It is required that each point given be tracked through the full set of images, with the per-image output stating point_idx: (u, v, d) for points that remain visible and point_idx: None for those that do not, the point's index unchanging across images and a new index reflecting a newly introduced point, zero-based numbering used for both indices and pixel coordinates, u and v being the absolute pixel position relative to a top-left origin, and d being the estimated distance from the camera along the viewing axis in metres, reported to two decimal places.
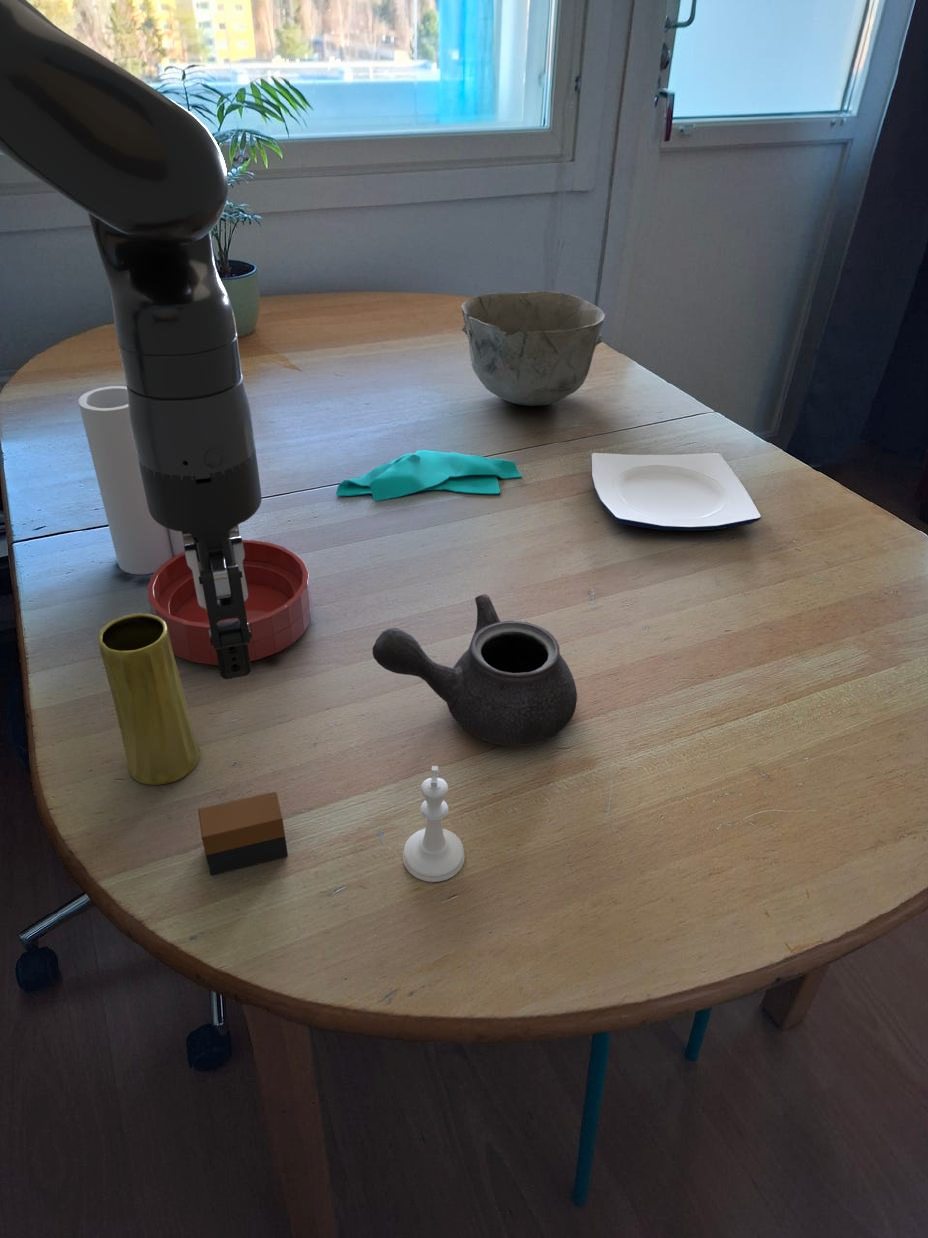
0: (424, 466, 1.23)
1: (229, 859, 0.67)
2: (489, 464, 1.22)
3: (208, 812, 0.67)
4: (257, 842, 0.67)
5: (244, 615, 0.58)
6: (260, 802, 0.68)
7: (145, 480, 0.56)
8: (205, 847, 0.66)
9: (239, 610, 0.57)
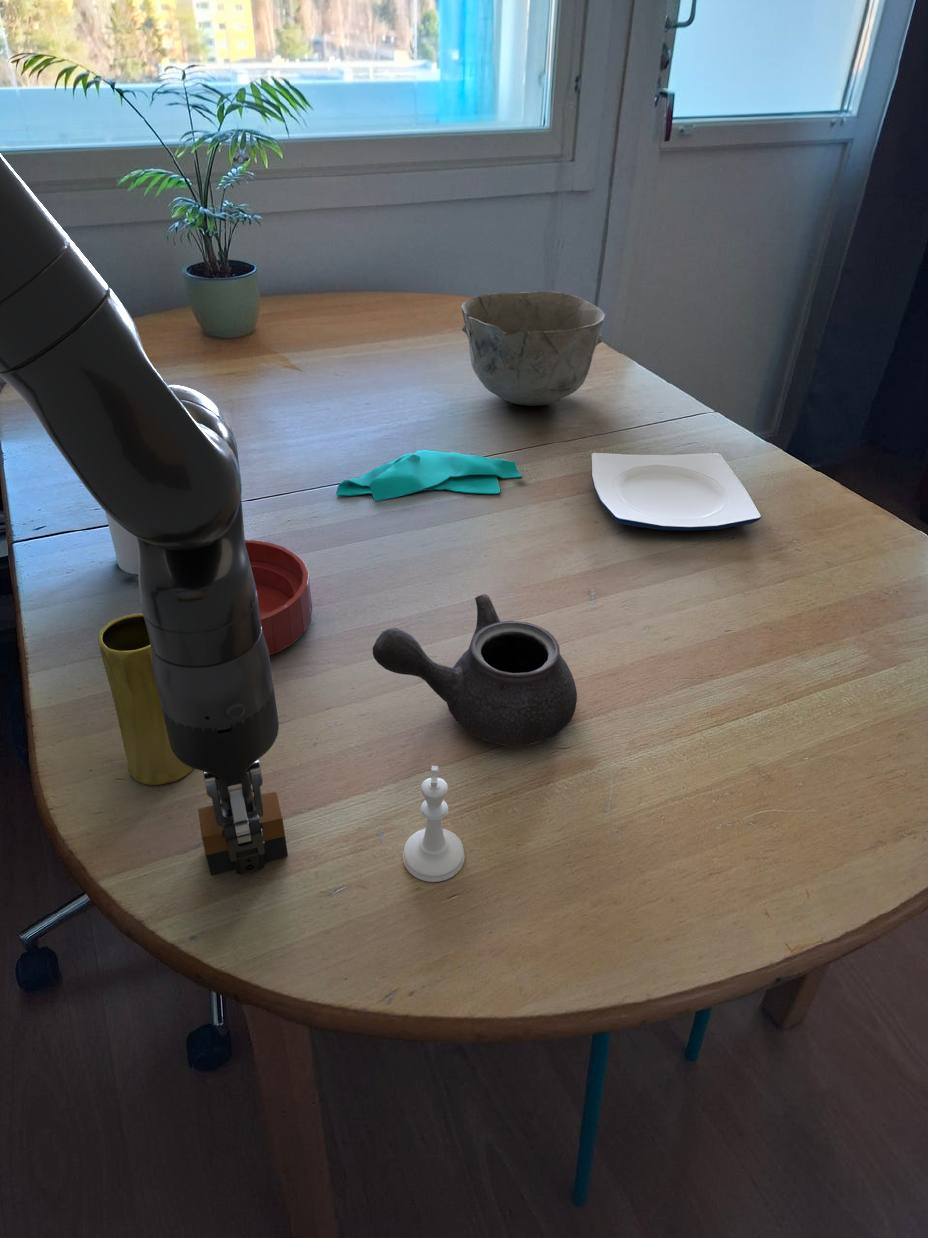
0: (424, 466, 1.23)
1: (229, 859, 0.67)
2: (489, 464, 1.22)
3: (208, 812, 0.67)
4: None
5: (261, 846, 0.62)
6: None
7: (167, 725, 0.58)
8: (205, 847, 0.66)
9: (257, 845, 0.61)
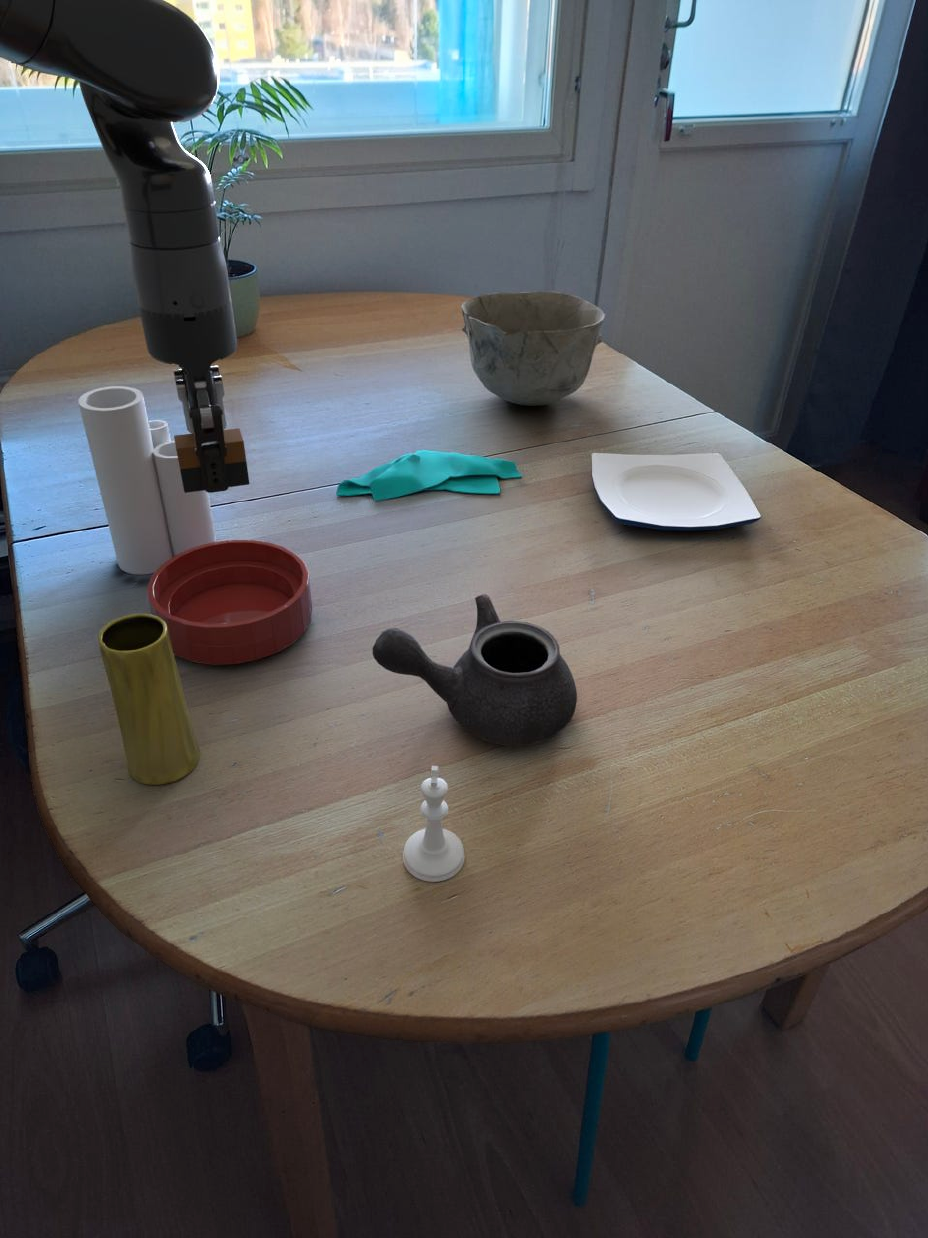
0: (424, 466, 1.23)
1: (200, 477, 0.81)
2: (489, 464, 1.22)
3: (182, 437, 0.81)
4: None
5: (223, 439, 0.75)
6: (225, 433, 0.81)
7: (144, 321, 0.72)
8: (179, 460, 0.79)
9: (219, 436, 0.75)
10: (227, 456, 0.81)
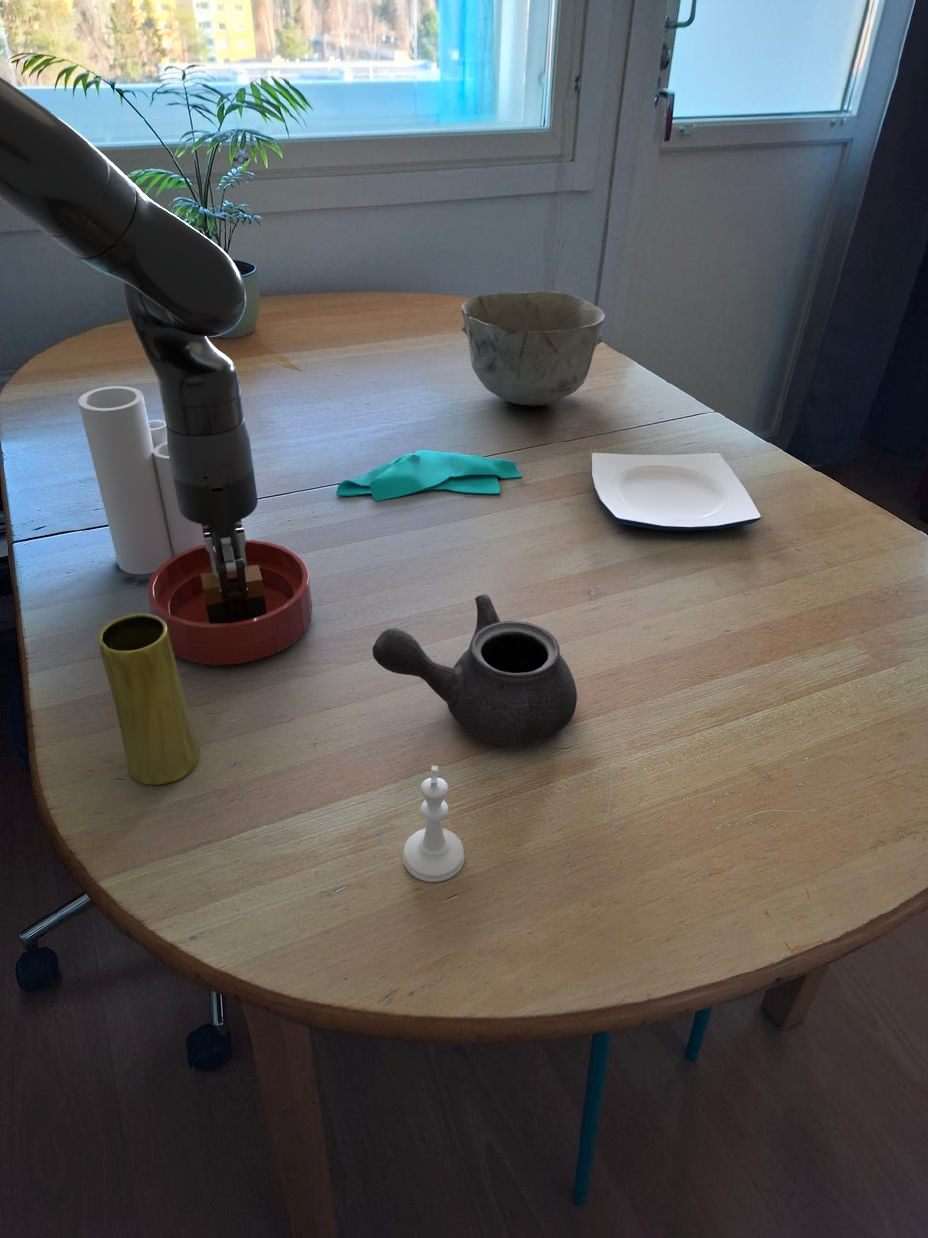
0: (424, 466, 1.23)
1: (223, 611, 0.91)
2: (489, 464, 1.22)
3: (208, 575, 0.91)
4: None
5: (245, 586, 0.86)
6: None
7: (177, 489, 0.82)
8: (205, 598, 0.90)
9: (242, 584, 0.85)
10: None
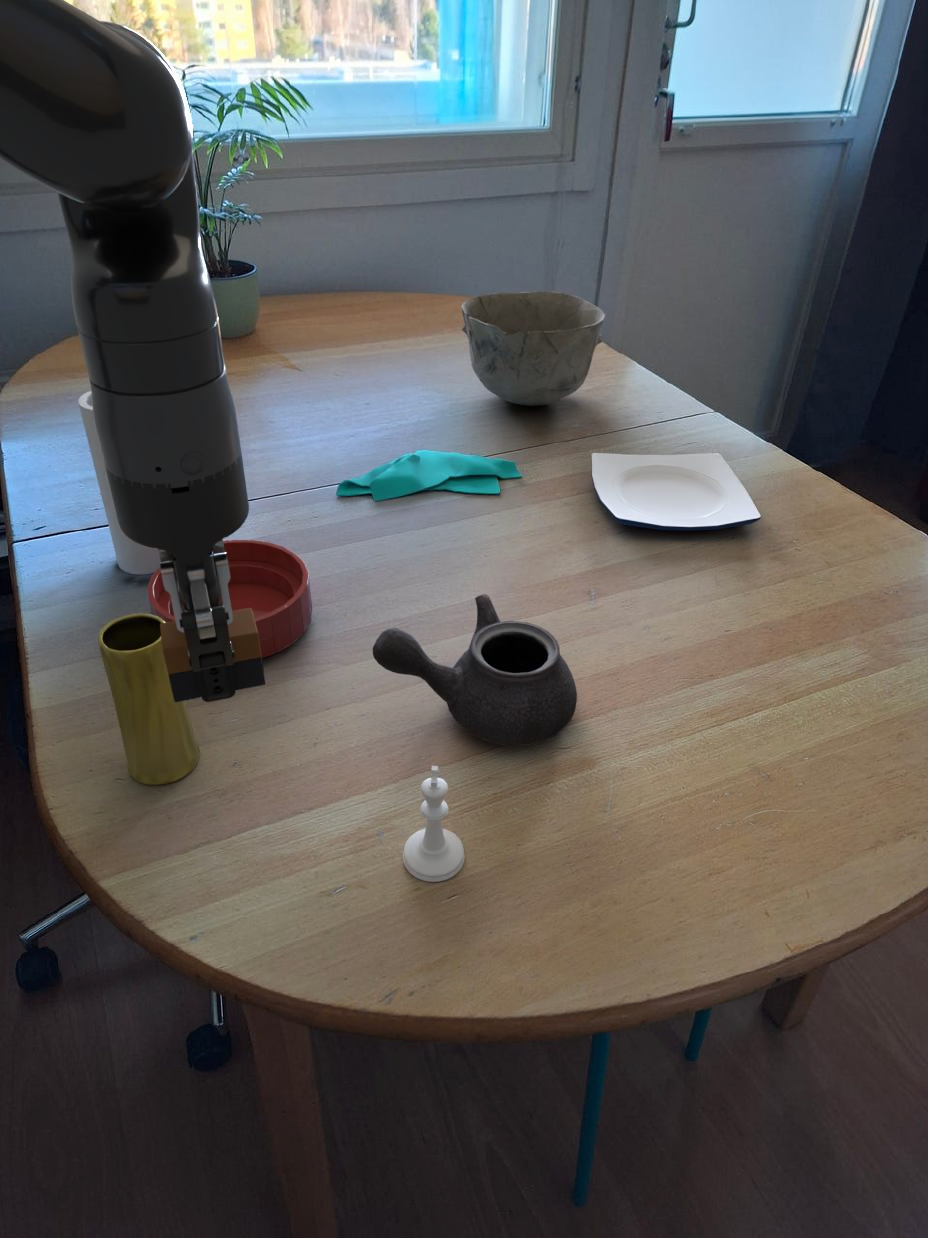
0: (424, 466, 1.23)
1: (196, 682, 0.58)
2: (489, 464, 1.22)
3: (171, 626, 0.57)
4: None
5: (229, 648, 0.52)
6: None
7: (113, 489, 0.48)
8: (167, 663, 0.56)
9: (224, 645, 0.52)
10: (235, 653, 0.57)
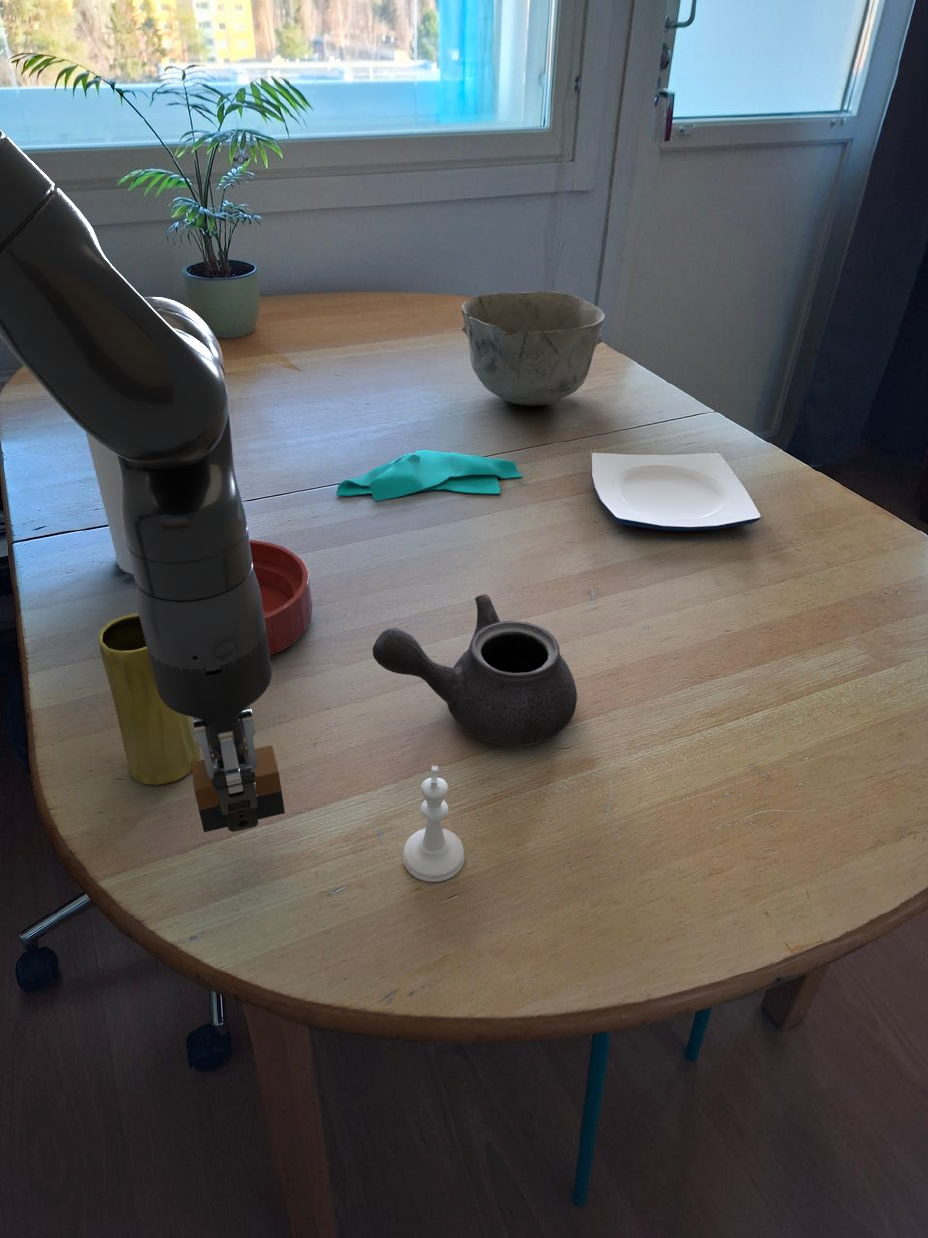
0: (424, 466, 1.23)
1: (223, 815, 0.64)
2: (489, 464, 1.22)
3: (201, 766, 0.64)
4: None
5: (254, 797, 0.59)
6: None
7: (154, 667, 0.55)
8: (198, 801, 0.63)
9: (250, 796, 0.58)
10: (258, 790, 0.64)
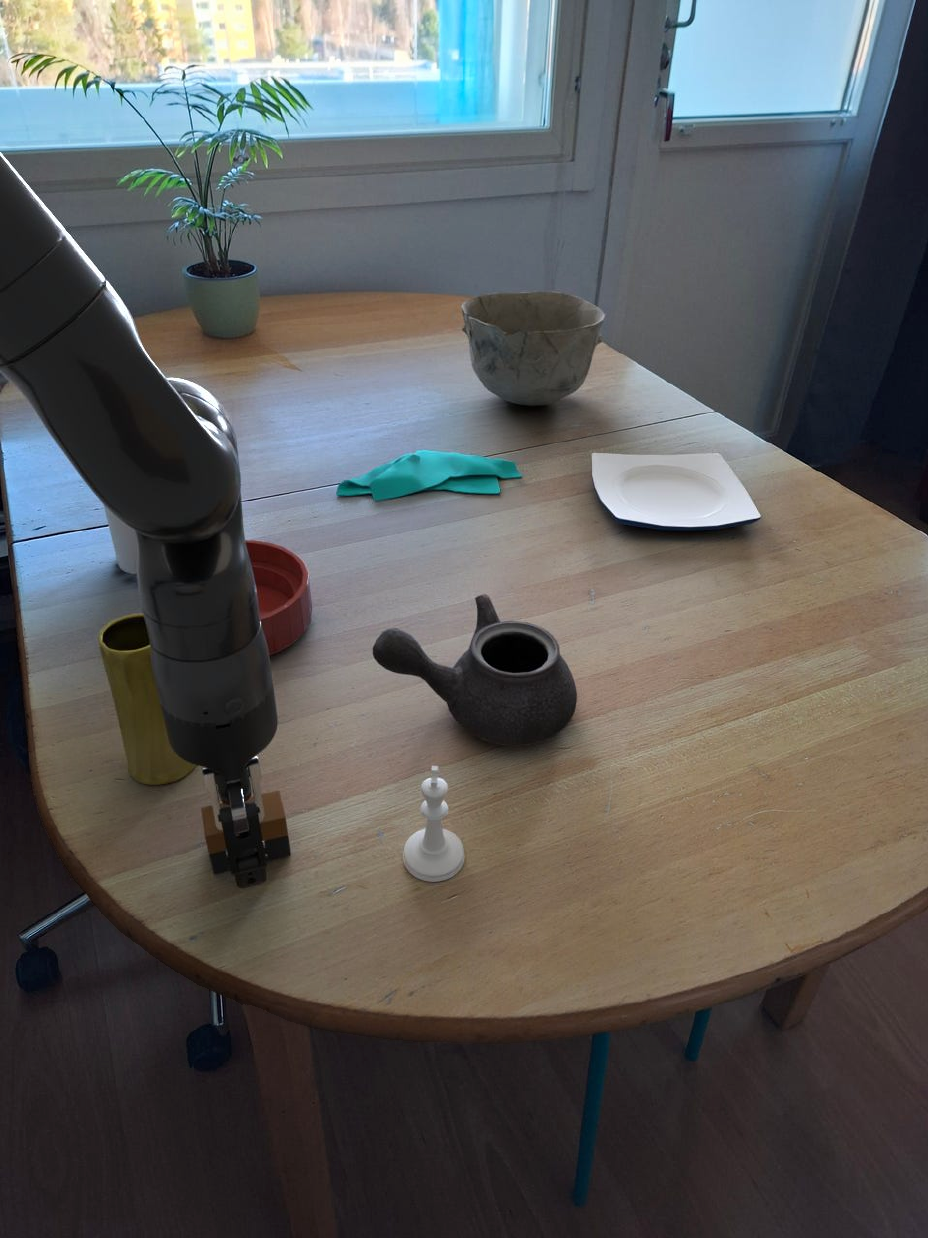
0: (424, 466, 1.23)
1: None
2: (489, 464, 1.22)
3: (211, 811, 0.67)
4: None
5: (261, 845, 0.59)
6: (263, 801, 0.68)
7: (166, 720, 0.58)
8: (208, 846, 0.66)
9: (257, 841, 0.59)
10: (265, 834, 0.67)
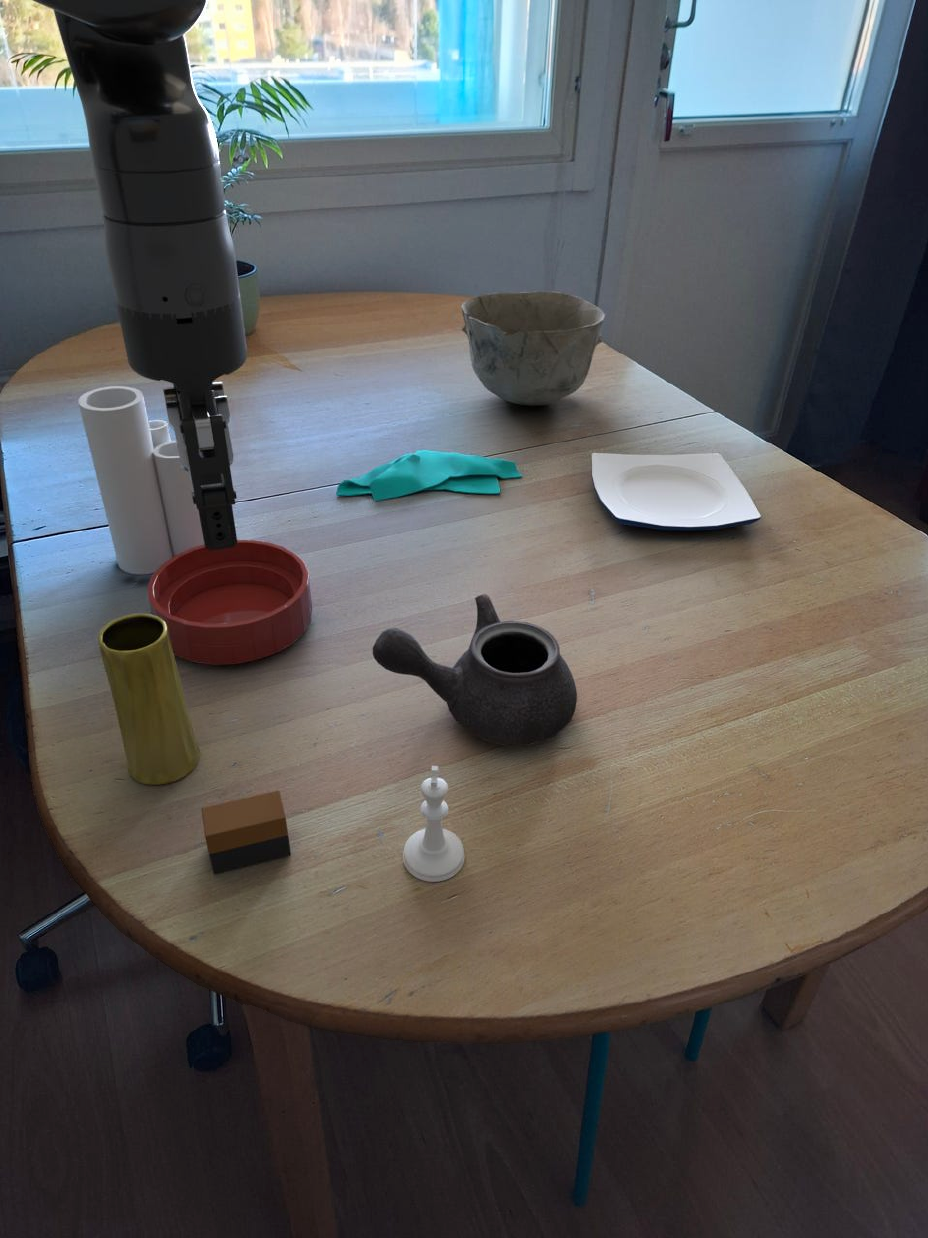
0: (424, 466, 1.23)
1: (232, 858, 0.67)
2: (489, 464, 1.22)
3: (211, 811, 0.67)
4: (260, 841, 0.67)
5: (228, 470, 0.55)
6: (263, 801, 0.68)
7: (123, 324, 0.53)
8: (208, 846, 0.66)
9: (223, 464, 0.55)
10: (265, 834, 0.67)
